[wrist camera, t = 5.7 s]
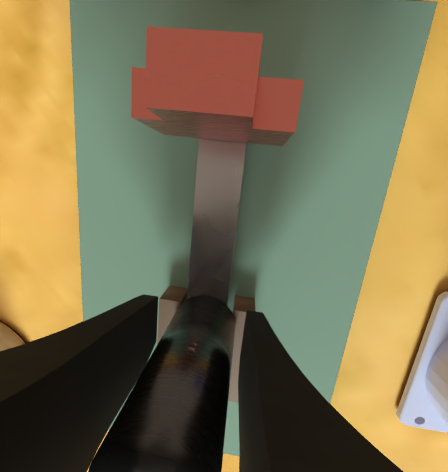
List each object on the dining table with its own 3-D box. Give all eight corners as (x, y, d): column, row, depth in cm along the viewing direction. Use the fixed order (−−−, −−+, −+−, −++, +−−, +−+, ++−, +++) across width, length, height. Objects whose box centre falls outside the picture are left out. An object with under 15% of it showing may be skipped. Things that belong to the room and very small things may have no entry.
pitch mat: (418, 20, 9) (437, 1, 8) (307, 452, 15) (312, 470, 14) (85, 2, 11) (69, -16, 10) (97, 411, 16) (87, 425, 15)
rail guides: (254, 298, 12) (255, 313, 10) (242, 380, 13) (241, 403, 12) (169, 285, 12) (159, 298, 11) (164, 366, 13) (155, 387, 12)
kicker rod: (283, 116, 10) (372, -54, 3) (248, 342, 12) (247, 562, 5) (176, 107, 10) (2, -66, 3) (165, 328, 12) (57, 517, 5)
